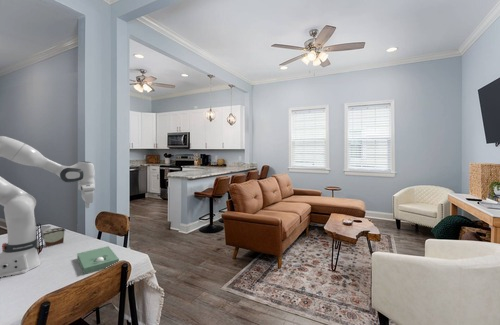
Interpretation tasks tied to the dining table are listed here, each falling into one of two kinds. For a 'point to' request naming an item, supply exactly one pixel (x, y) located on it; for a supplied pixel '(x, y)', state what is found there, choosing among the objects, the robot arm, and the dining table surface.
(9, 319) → the dining table surface
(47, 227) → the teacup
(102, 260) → the ball
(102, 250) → the putting board
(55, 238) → the food container
